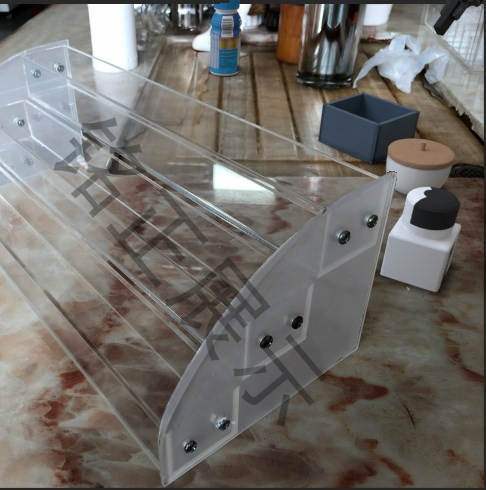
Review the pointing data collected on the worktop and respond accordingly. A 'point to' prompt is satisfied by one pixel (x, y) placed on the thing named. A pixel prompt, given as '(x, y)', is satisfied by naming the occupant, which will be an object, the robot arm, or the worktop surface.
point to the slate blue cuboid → (366, 126)
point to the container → (423, 239)
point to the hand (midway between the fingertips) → (438, 31)
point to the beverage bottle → (225, 39)
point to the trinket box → (419, 163)
